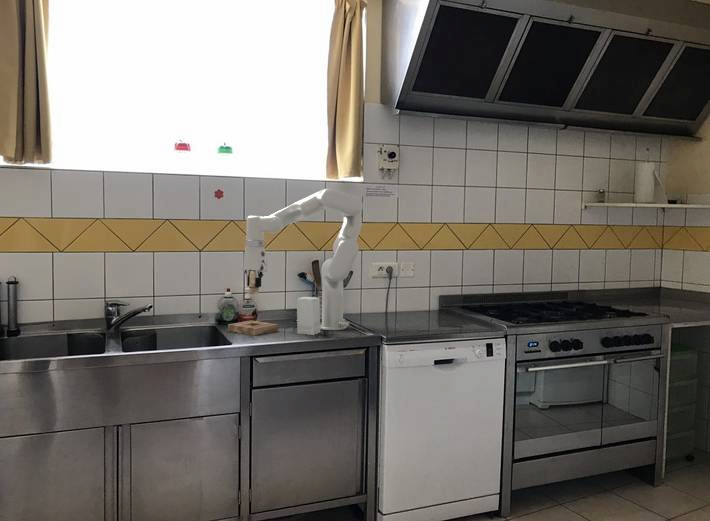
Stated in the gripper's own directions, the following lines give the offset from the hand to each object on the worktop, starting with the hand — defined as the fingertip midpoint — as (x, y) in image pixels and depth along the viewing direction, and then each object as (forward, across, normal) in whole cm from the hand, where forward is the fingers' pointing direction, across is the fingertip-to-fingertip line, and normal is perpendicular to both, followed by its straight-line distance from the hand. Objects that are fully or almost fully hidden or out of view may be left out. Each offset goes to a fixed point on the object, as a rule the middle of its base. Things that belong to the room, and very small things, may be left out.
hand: (254, 286), depth 260 cm
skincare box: (+20, -22, -11) cm, 31 cm away
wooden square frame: (+20, 0, 0) cm, 20 cm away
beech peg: (+3, 0, 0) cm, 3 cm away
